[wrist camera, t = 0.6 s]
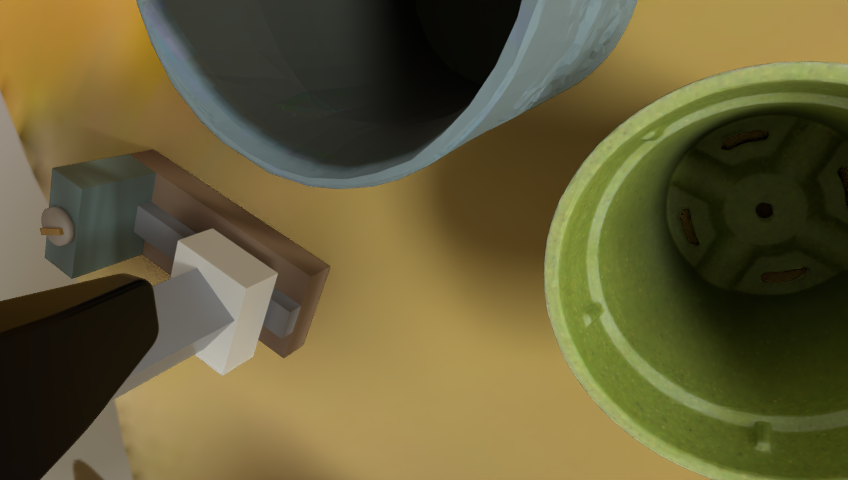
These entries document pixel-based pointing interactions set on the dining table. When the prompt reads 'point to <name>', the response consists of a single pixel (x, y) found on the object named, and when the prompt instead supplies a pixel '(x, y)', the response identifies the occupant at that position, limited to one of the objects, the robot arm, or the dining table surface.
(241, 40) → the drinking glass
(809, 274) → the plant pot
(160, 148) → the dining table surface
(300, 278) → the rail bed
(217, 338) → the carriage
